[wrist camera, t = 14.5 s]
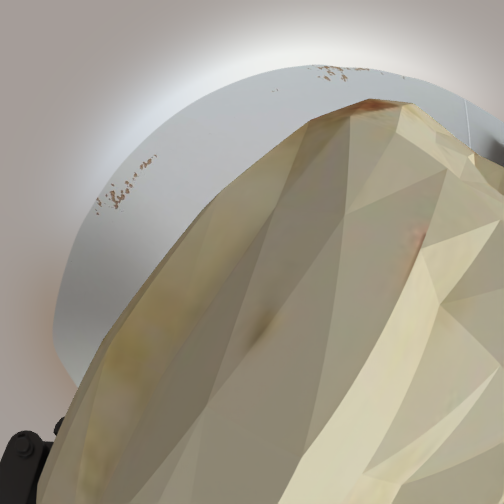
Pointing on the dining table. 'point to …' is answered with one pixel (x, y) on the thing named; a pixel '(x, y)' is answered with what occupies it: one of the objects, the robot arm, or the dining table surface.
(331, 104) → the dining table surface
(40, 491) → the food model
